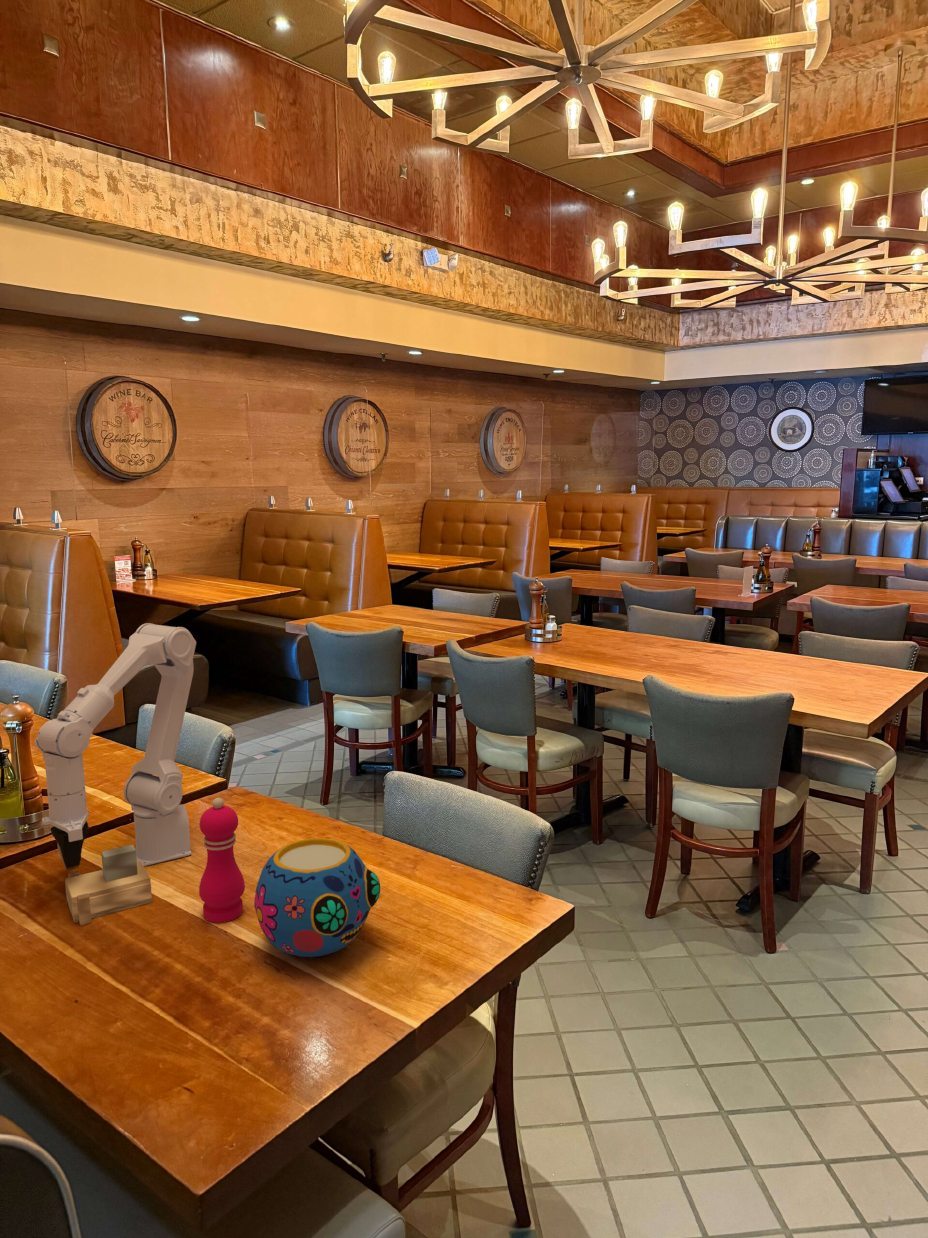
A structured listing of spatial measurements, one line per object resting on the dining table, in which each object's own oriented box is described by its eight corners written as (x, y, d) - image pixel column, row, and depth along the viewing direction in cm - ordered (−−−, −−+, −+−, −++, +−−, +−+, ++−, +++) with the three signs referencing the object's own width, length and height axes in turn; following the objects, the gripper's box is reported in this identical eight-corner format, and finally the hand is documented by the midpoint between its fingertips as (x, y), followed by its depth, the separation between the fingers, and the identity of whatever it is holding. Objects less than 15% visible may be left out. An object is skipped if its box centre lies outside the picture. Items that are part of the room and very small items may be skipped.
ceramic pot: (321, 994, 112) (319, 893, 110) (231, 955, 122) (227, 862, 119) (395, 935, 127) (395, 845, 125) (310, 904, 136) (308, 820, 134)
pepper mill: (233, 927, 129) (227, 808, 126) (191, 922, 131) (185, 804, 127) (253, 904, 136) (248, 791, 133) (214, 900, 138) (208, 788, 134)
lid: (140, 865, 143) (138, 837, 142) (150, 882, 136) (148, 853, 135) (65, 883, 136) (63, 854, 135) (72, 902, 130) (70, 872, 129)
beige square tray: (139, 880, 144) (138, 856, 144) (154, 906, 136) (152, 881, 135) (65, 898, 138) (63, 873, 137) (75, 927, 129) (73, 901, 128)
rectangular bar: (70, 846, 147) (69, 836, 147) (78, 867, 139) (78, 857, 139) (57, 848, 146) (57, 839, 146) (66, 870, 138) (65, 860, 138)
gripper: (34, 781, 140) (41, 855, 142) (45, 809, 128) (52, 889, 130) (79, 773, 144) (84, 845, 146) (93, 799, 132) (99, 877, 134)
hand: (72, 865), depth 138 cm, fingers closed, pressing on rectangular bar
